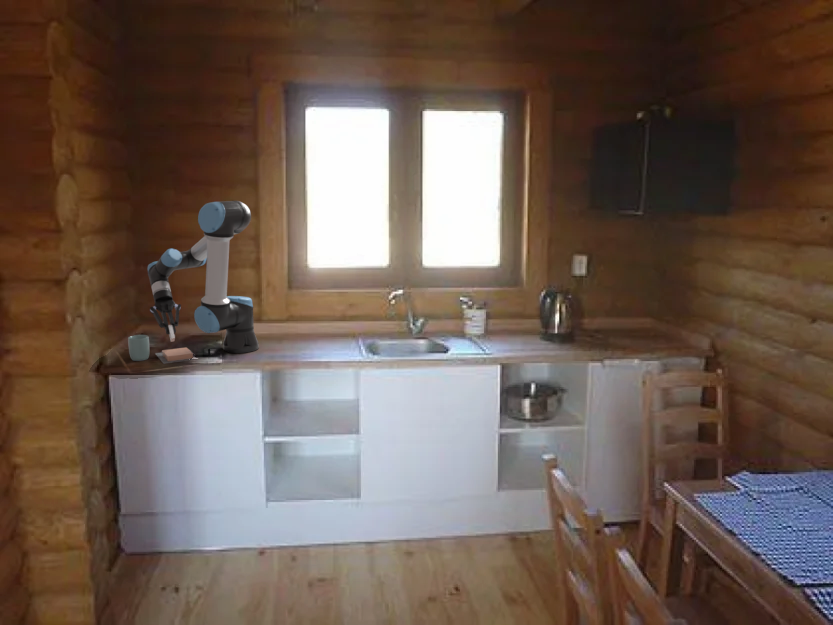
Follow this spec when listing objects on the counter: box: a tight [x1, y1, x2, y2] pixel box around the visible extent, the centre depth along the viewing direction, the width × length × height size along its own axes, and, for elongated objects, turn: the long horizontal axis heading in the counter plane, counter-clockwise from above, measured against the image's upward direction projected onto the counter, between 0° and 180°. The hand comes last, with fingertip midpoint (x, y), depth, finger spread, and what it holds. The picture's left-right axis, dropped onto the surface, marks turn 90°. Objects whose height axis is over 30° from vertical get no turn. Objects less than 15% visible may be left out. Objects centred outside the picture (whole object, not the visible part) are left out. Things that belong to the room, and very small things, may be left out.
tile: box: [161, 347, 194, 361], centre depth 307 cm, size 2×10×11 cm
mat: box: [154, 352, 190, 365], centre depth 309 cm, size 18×14×1 cm
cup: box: [127, 334, 150, 362], centre depth 304 cm, size 8×8×10 cm
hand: (172, 339), depth 309 cm, fingers closed
